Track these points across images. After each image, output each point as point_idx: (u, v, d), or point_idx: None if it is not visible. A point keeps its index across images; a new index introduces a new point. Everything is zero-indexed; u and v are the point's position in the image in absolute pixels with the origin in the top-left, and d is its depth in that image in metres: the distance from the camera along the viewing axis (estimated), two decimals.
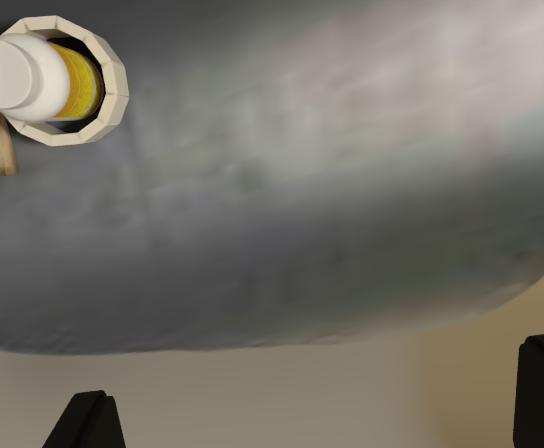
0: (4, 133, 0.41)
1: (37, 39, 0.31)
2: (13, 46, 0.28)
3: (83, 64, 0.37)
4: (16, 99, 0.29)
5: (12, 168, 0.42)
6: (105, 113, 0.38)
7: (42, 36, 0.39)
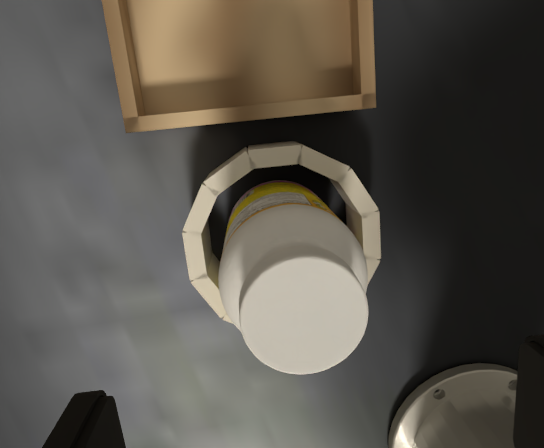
0: None
1: None
2: (353, 348, 0.15)
3: None
4: (257, 348, 0.15)
5: None
6: None
7: (349, 206, 0.26)
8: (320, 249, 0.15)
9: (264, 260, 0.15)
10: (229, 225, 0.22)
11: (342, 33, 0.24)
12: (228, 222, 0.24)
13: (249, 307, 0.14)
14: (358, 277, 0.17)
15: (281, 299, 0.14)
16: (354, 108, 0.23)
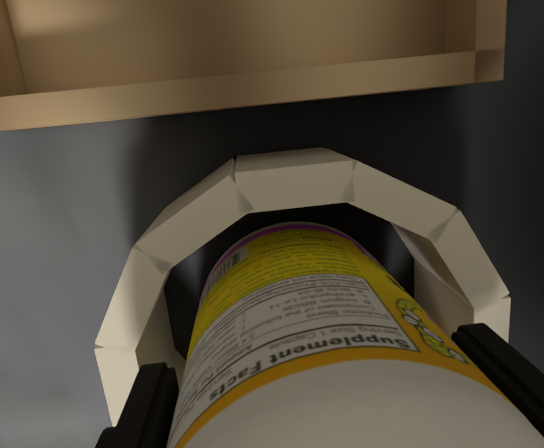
0: None
1: None
2: None
3: None
4: None
5: None
6: None
7: (428, 270, 0.14)
8: None
9: None
10: (193, 340, 0.10)
11: None
12: (197, 311, 0.12)
13: None
14: None
15: None
16: (458, 81, 0.11)
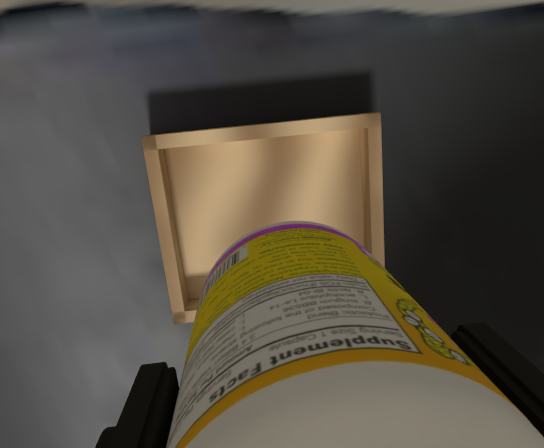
0: None
1: None
2: None
3: None
4: None
5: None
6: None
7: None
8: None
9: None
10: (192, 341, 0.10)
11: (356, 231, 0.28)
12: None
13: None
14: None
15: None
16: None
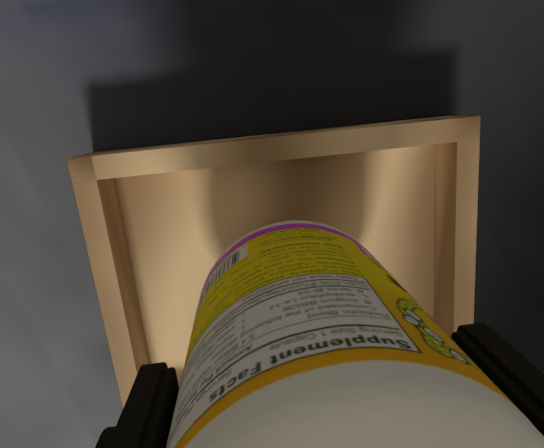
0: None
1: None
2: None
3: None
4: None
5: None
6: None
7: None
8: None
9: None
10: (192, 340, 0.10)
11: (422, 301, 0.18)
12: None
13: None
14: None
15: None
16: None
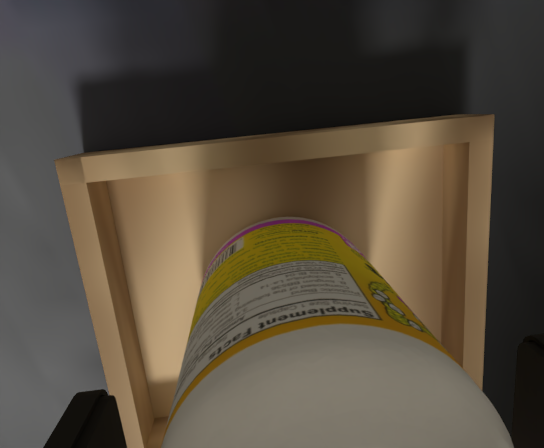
0: None
1: None
2: None
3: None
4: None
5: None
6: None
7: None
8: None
9: None
10: (195, 320, 0.11)
11: (430, 309, 0.17)
12: (198, 296, 0.14)
13: None
14: None
15: None
16: None
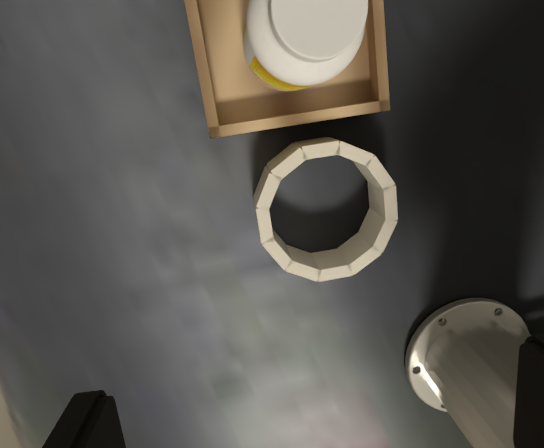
0: None
1: None
2: (357, 36, 0.20)
3: None
4: (285, 33, 0.19)
5: None
6: (297, 269, 0.33)
7: (371, 183, 0.34)
8: None
9: None
10: None
11: (362, 55, 0.32)
12: None
13: None
14: None
15: None
16: (374, 111, 0.32)
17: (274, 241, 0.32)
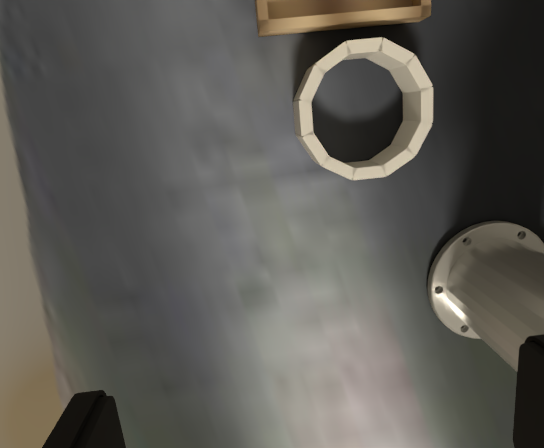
0: (306, 30, 0.34)
1: None
2: None
3: None
4: None
5: (265, 34, 0.34)
6: (333, 165, 0.34)
7: (407, 92, 0.36)
8: None
9: None
10: None
11: None
12: None
13: None
14: None
15: None
16: (416, 16, 0.33)
17: (314, 135, 0.34)
